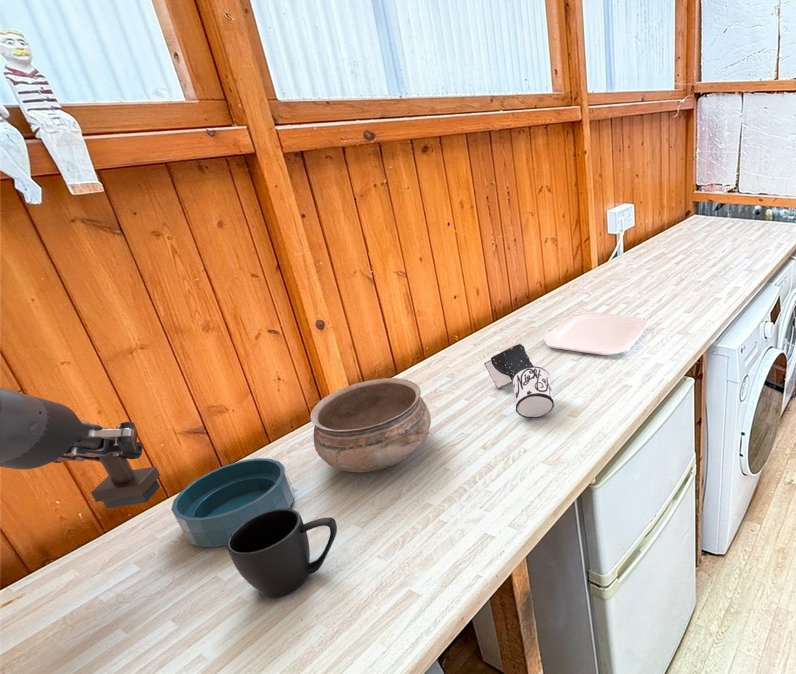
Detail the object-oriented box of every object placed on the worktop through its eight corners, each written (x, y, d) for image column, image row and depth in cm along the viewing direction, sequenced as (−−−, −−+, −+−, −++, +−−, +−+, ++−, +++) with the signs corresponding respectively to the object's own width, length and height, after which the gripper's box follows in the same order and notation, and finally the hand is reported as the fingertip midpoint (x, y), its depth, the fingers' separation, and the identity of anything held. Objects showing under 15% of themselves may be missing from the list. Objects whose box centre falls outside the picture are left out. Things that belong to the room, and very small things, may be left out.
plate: (623, 362, 131) (623, 355, 130) (536, 350, 138) (535, 342, 137) (652, 325, 152) (652, 318, 151) (576, 316, 159) (575, 309, 158)
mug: (343, 590, 71) (324, 538, 67) (240, 615, 67) (214, 562, 63) (354, 545, 78) (338, 496, 74) (262, 565, 75) (239, 515, 71)
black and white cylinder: (568, 415, 109) (564, 374, 105) (523, 431, 104) (517, 388, 100) (523, 368, 128) (518, 332, 124) (483, 380, 123) (477, 342, 119)
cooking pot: (470, 444, 100) (460, 390, 95) (392, 509, 85) (375, 448, 79) (375, 417, 109) (361, 366, 104) (288, 472, 93) (267, 415, 88)
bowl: (167, 559, 76) (150, 529, 73) (213, 494, 88) (200, 466, 86) (277, 539, 79) (264, 509, 77) (306, 479, 92) (296, 452, 89)
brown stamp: (101, 511, 68) (63, 446, 64) (121, 491, 72) (86, 428, 67) (148, 504, 69) (113, 439, 65) (165, 484, 73) (133, 422, 68)
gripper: (87, 384, 57) (188, 418, 73) (-76, 402, 54) (67, 433, 70) (75, 452, 54) (183, 472, 70) (-96, 475, 51) (57, 490, 67)
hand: (125, 452), depth 70 cm, fingers closed on brown stamp, 2 cm apart
